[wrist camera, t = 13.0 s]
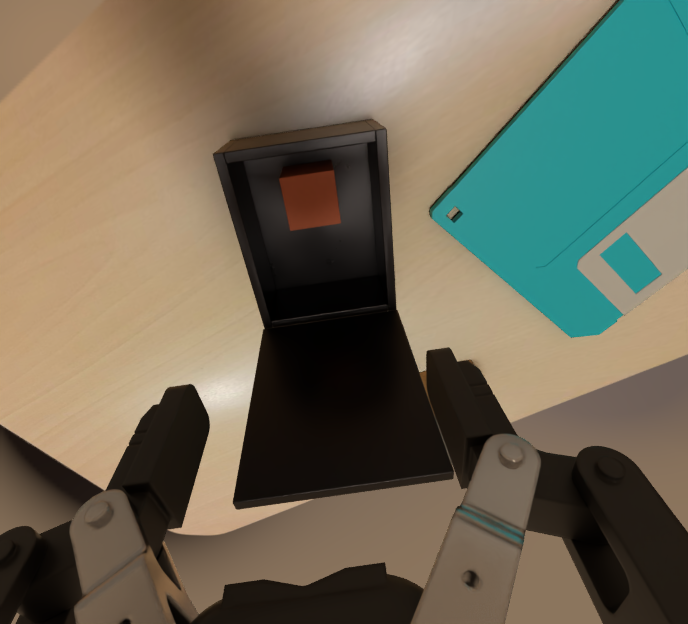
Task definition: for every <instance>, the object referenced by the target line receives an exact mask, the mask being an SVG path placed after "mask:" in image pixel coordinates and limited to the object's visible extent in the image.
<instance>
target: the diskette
mask: <svg viewBox="0 0 688 624" xmlns="http://www.w3.org/2000/svg"><path fill="white" fill-rule="evenodd" d="M455 206H456V207H457V208H458V209H459V210H460V212H459V213H458V214H457V215H456V216H455V218H454V219H453V220H450V219H449V218H448V217H447V216H446V215H447V214H448V213H449V212H450V211H451V210H452V209H453V208H454V207H455ZM430 217H431V218H432V219H433V220H434V221H435V222H437V223H438V224H439V225H440V226H441V227H442V228H444V229H445V230H446V231H447V232H448V233H449V234H451V235H452V236H453V237H454V238H455V239H456V240H458V241H459V242H460V243H461V244H462V245H463V246H465V247H466V248H467V249H468V250H469V251H470V252H472V253H473V254H474V255H475V256H476V257H477V258H479V259H480V260H481V261H482V262H483V263H484V264H486V265H487V266H488V267H489V268H490V269H491V270H493V271H494V272H495V273H496V274H497V275H498V276H500V277H501V278H502V279H503V280H504V281H505V282H507V283H508V284H509V285H510V286H511V287H512V288H514V289H515V290H516V291H517V292H518V293H519V294H521V295H522V296H523V297H524V298H525V299H526V300H528V301H529V302H530V303H531V304H532V305H533V306H535V307H536V308H537V309H538V310H539V311H540V312H542V313H543V314H544V315H545V316H546V317H547V318H549V319H550V320H551V321H552V322H553V323H554V324H556V325H557V326H558V327H559V328H560V329H561V330H563V331H564V332H565V333H566V334H567V335H568V336H570V337H571V338H572V337H581V336H591V335H599V334H601V333H602V332H603V331H605V330H606V329H607V328H609V327H610V326H612V325H613V324H614V323H616V322H617V319H618V318H620V317H621V316H622V315H624V316H625V315H626V314H628V313H629V312H630V311H632V310H633V309H634V308H636V307H637V306H638V305H640V304H641V303H643V302H644V301H645V300H647V299H648V298H649V297H651V296H652V295H653V294H655V293H656V292H657V291H659V290H660V289H661V288H663V287H664V286H665V285H667V284H668V283H669V282H671V281H672V280H674V279H675V278H676V277H678V276H679V275H680V274H682V273H683V272H684V271H686V270H687V269H688V0H620V1H619V2H618V3H617V4H616V5H615V6H614V7H613V8H612V10H611V11H610V12H609V13H608V14H607V15H606V16H605V17H604V18H603V20H602V21H601V22H600V23H599V24H598V25H597V26H596V27H595V28H594V29H593V31H592V32H591V33H590V34H589V35H588V36H587V37H586V38H585V39H584V41H583V42H582V43H581V44H580V45H579V46H578V47H577V48H576V49H575V51H574V52H573V53H572V54H571V55H570V56H569V57H568V58H567V59H566V61H565V62H564V63H563V64H562V65H561V66H560V67H559V68H558V69H557V71H556V72H555V73H554V74H553V75H552V76H551V77H550V78H549V79H548V81H547V82H546V83H545V84H544V85H543V86H542V87H541V88H540V89H539V91H538V92H537V93H536V94H535V95H534V96H533V97H532V98H531V99H530V100H529V102H528V103H527V104H526V105H525V106H524V107H523V108H522V109H521V110H520V112H519V113H518V114H517V115H516V116H515V117H514V118H513V119H512V120H511V122H510V123H509V124H508V125H507V126H506V127H505V128H504V129H503V130H502V132H501V133H500V134H499V135H498V136H497V137H496V138H495V139H494V140H493V142H492V143H491V144H490V145H489V146H488V147H487V148H486V149H485V150H484V152H483V153H482V154H481V155H480V156H479V157H478V158H477V159H476V160H475V162H474V163H473V164H472V165H471V166H470V167H469V168H468V169H467V170H466V171H465V173H464V174H463V175H462V176H461V177H460V178H459V179H458V180H457V181H456V183H455V184H454V185H453V186H452V187H451V188H449V189H448V190H447V191H446V192H445V193H444V194H443V195H442V196H441V198H440V199H439V200H438V201H437V202H436V203H435V204H434V205H433V206H432V208H431V209H430Z"/></svg>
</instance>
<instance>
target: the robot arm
mask: <svg viewBox="0 0 688 624" xmlns="http://www.w3.org/2000/svg"><path fill="white" fill-rule="evenodd" d="M426 382H427V391H428V396H429V400H430V403H431V406H432V409H433V411H434V414H435V417H436V420H437V422H438V425H439V428H440V431H441V433H442V436H443V439H444V442H445V445H446V447H447V450H448V453H449V456H450V458H451V461H452V464H453V467H454V469H455V472H456V475H457V478H458V481H459V483H460V486H461V489H463V488H467V491H466V493H465V496H464V499H463V501H462V503H461V505H460V506H458V507H457V508H456V510H455V512H454V514H453V517H452V519H451V522H450V524H449V527H448V529H447V532H446V534H445V537H444V539H443V542H442V545H441V547H440V550H439V552H438V555H437V558H436V560H435V563H434V565H433V568H432V570H431V573H430V575H429V578H428V581H427V583H426V586H425V588H424V589H423V588H421V587H420V586H418V585H417V584H415V583H413V582H411V581H409V580H407V579H404V578H401V577H397V576H394V575H389V574H387V573H386V566H385V563H377V564H371V565H363V566H356V567H349V568H344V569H342V570H340V571H338V572H336V573H333V574H331V575H329V576H327V577H325V578H323V579H320V580H318V581H316V582H314V583H311V584H309V585H306V586H298V585H293V584H287V583H281V582H275V581H270V580H257V581H250V582H243V583H236V584H228V585H225V587H224V593H223V599H222V600H220V601H218V602H216V603H214V604H213V605H211V606H210V607H208V608H207V609H205V610H204V611H203V612H202V613H200V614H199V613H198V612H197V610H196V608H195V607H194V605H193V604H192V602H191V600H190V599H189V597H188V594H187V592H186V590H185V588H184V585H183V583H182V581H181V578H180V576H179V574H178V571H177V569H176V567H175V565H174V562H173V560H172V558H171V555H170V553H169V551H168V549H167V547H166V544H165V543H164V541H163V540H164V537H165V534H166V531H167V529H174V528H181V527H182V524H183V521H184V517H185V514H186V510H187V507H188V503H189V500H190V496H191V493H192V489H193V486H194V482H195V479H196V475H197V472H198V469H199V465H200V462H201V458H202V455H203V451H204V448H205V444H206V441H207V437H208V434H209V428H210V422H209V416H208V413H207V411H206V409H205V407H204V405H203V403H202V401H201V399H200V397H199V395H198V393H197V390H196V388H195V387H194V386H193V385H192V384H189V385H182V386H175V387H169V388H167V389H166V391H165V393H164V395H163V397H162V399H161V402H160V404H157V405H153V406H152V407H151V408H150V409H149V410H148V412H147V413H146V414H145V415H144V416H143V417H142V418H141V420H140V422H139V424H138V426H137V428H136V430H135V435H133V436H132V438H131V440H130V442H129V446H127V448H126V450H125V452H124V454H123V456H122V458H121V460H120V462H119V464H118V466H117V468H116V470H115V472H114V474H113V477H112V479H111V481H110V483H109V485H108V487H107V489H106V490H105V491H104V492H102V493H99V494H97V495H96V496H94V497H93V498H91V499H90V500H89V501H87V502H86V503H85V504H84V505H83V506H82V507H81V508H80V509H79V511H78V512H77V513H76V515H75V516H74V518H73V520H71V521H69V522H66V523H64V524H62V525H59V526H57V527H55V528H53V529H50V530H48V531H46V532H43V533H41V534H38V533H37V532H36V531H35V530H33V529H32V528H31V527H28V526H21V527H16V528H13V529H11V530H9V531H7V532H5V533H3V534H2V535H0V624H11V623H12V621H13V619H14V617H15V615H16V613H19V614H20V616H19V618H18V620H17V622H16V624H505V620H506V615H507V611H508V607H509V603H510V598H511V594H512V589H513V585H514V581H515V577H516V573H517V568H518V564H519V560H520V555H521V551H522V546H523V542H524V536H525V531H526V530H528V531H534V532H538V533H544V534H548V535H553V536H558V537H562V539H563V541H564V543H565V545H566V547H567V549H568V551H569V553H570V555H571V558H572V560H573V561H574V563H575V566H576V568H577V570H578V572H579V574H580V576H581V578H582V580H583V583H584V585H585V587H586V589H587V591H588V593H589V595H590V597H591V599H592V601H593V604H594V606H595V608H596V610H597V612H598V614H599V616H600V618H601V620H602V622H603V624H688V532H687V531H686V530H685V528H684V527H683V526H682V524H681V523H680V522H679V520H678V519H677V518H676V516H675V515H674V514H673V512H672V511H671V510H670V508H669V507H668V506H667V505H666V503H665V502H664V500H663V499H662V498H661V496H660V495H659V494H658V493H657V491H656V490H655V489H654V487H653V486H652V485H651V483H650V482H649V481H648V479H647V478H646V477H645V475H644V474H643V473H642V471H641V470H640V469H639V467H638V466H637V465H636V464H635V463H634V462H633V461H632V460H631V459H629V458H628V457H627V456H625V455H624V454H622V453H620V452H618V451H616V450H613V449H610V448H607V447H602V446H591V447H587V448H584V449H583V450H581V451H580V452H579V454H578V456H577V457H572V456H565V455H558V454H551V453H546V452H543V451H539V450H537V449H535V448H534V447H533V446H532V445H531V444H530V443H529V442H528V441H526V440H525V439H523V438H521V437H519V436H518V435H517V434H516V432H515V431H514V429H513V427H512V425H511V424H510V422H509V420H508V418H507V417H506V415H505V413H504V411H503V410H502V408H501V406H500V404H499V402H498V401H497V399H496V397H495V395H493V392H492V390H491V388H490V387H489V385H487V381H486V380H485V378H484V376H483V374H482V373H481V371H480V370H479V369H478V368H477V367H476V366H474V365H473V364H472V363H471V362H469V361H468V360H467V361H460V362H457V360H456V358H455V356H454V354H453V352H452V350H451V349H450V348H442V349H435V350H428V351H427V354H426Z"/></svg>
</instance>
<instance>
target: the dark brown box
mask: <svg viewBox="0 0 688 624" xmlns="http://www.w3.org/2000/svg"><path fill="white" fill-rule="evenodd" d="M213 157H214V161H215V164H216V167H217V171H218V174H219V177H220V181H221V184H222V187H223V191H224V194H225V197H226V201H227V204H228V208H229V211H230V214H231V218H232V221H233V224H234V228H235V231H236V234H237V238H238V241H239V244H240V248H241V251H242V254H243V258H244V261H245V264H246V268H247V271H248V275H249V278H250V281H251V285H252V288H253V291H254V295H255V298H256V301H257V305H258V308H259V311H260V315H261V318H262V321H263V325H264V328H265V329H268V328H275V327H282V326H289V325H296V324H303V323H310V322H317V321H324V320H330V319H337V318H344V317H351V316H358V315H365V314H372V313H379V312H386V311H393V310H396V292H395V274H394V256H393V238H392V220H391V202H390V184H389V166H388V148H387V130H386V128H385V127H383V126H382V125H380V124H379V123H378V122H376V121H375V120H373V119H370V120H363V121H357V122H350V123H343V124H336V125H330V126H323V127H316V128H309V129H303V130H296V131H289V132H282V133H276V134H269V135H262V136H255V137H248V138H242V139H235V140H230V141H229V142H228V143H226V144H225V145H224V146H223V147H221V148H220V149H219V150H217V151H216V152H215V153H214V154H213ZM325 160H332V164H333V169H334V175H335V182H336V190H337V197H338V204H339V212H340V219H341V223H340V224H333V225H326V226H320V227H313V228H306V229H300V230H293V231H290V227H289V223H288V218H287V213H286V209H285V204H284V200H283V195H282V190H281V186H280V181H279V177H280V174H281V171H282V168H283V167H285V166H292V165H299V164H305V163H312V162H319V161H325Z"/></svg>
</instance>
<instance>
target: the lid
mask: <svg viewBox="0 0 688 624" xmlns="http://www.w3.org/2000/svg"><path fill="white" fill-rule="evenodd" d="M453 475H454V470H453V467H452V464H451V461H450V459H449V456H448V453H447V450H446V447H445V444H444V441H443V439H442V436H441V433H440V430H439V427H438V424H437V422H436V419H435V416H434V413H433V410H432V407H431V404H430V402H429V399H428V396H427V393H426V390H425V387H424V384H423V382H422V379H421V376H420V373H419V370H418V367H417V364H416V362H415V359H414V356H413V353H412V350H411V347H410V345H409V342H408V339H407V336H406V333H405V330H404V327H403V325H402V322H401V319H400V316H399V313H398V311H397V310H393V311H386V312H379V313H372V314H365V315H358V316H351V317H344V318H337V319H330V320H324V321H317V322H310V323H303V324H296V325H289V326H282V327H275V328H268V329H263V334H262V340H261V346H260V351H259V357H258V363H257V368H256V374H255V380H254V385H253V391H252V396H251V402H250V408H249V413H248V419H247V425H246V430H245V436H244V442H243V447H242V453H241V459H240V464H239V470H238V476H237V481H236V487H235V493H234V498H233V504H234V506H235V508H236V509H244V508H252V507H259V506H266V505H273V504H280V503H287V502H294V501H301V500H308V499H315V498H322V497H330V496H337V495H343V494H351V493H358V492H365V491H372V490H379V489H386V488H394V487H400V486H408V485H415V484H422V483H429V482H436V481H442V480H450V479H453Z"/></svg>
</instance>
